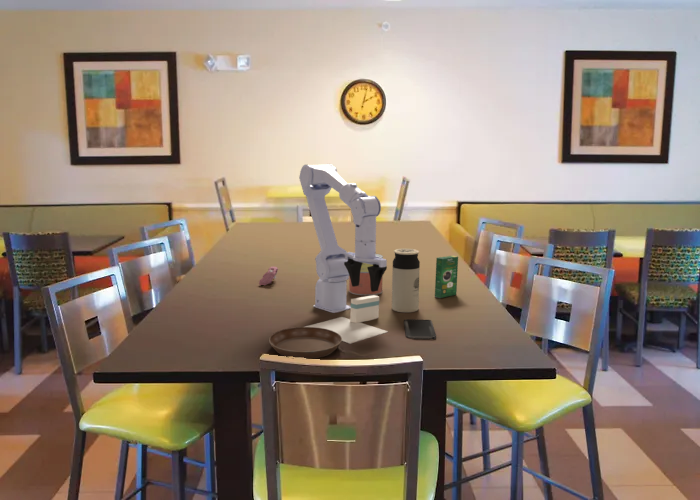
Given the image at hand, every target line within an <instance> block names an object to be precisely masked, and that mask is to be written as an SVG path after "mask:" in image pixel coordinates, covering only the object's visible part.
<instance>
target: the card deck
mask: <svg viewBox="0 0 700 500" xmlns="http://www.w3.org/2000/svg"><path fill="white" fill-rule="evenodd" d="M349 306H350V307H351V309H350V311H349V313H350V314H349V315H350V316H349V319H350V322H353V323H359V322H360V323H363V322H368V321H373V320H377V319H379V315H380V314H379V313H380V311H379V309H380V296H378V295H365V296H361V297H355V298H350V305H349Z"/></svg>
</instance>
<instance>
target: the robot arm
mask: <svg viewBox="0 0 700 500" xmlns="http://www.w3.org/2000/svg"><path fill="white" fill-rule="evenodd" d="M298 177H299V182H300V185H301V189H302V192H303V195H304V196H305V197H306V200H307V201H306V202H307V206H308V209H309V212H310V216H311V218H312V222H313V227H314V230H315V234H316V236H317V237H316V238H317V241H318V244H319V248H320V251H319V252H318V253H317V255H316V257H315V259H314V260H315V269H316V275H317V276H318V277H319V279H317V281H316V284H315V286H314V287H315V293H314V294H315V296H314V297H315V299H314V300H315V301H314V302H315V304H313V306H312V307H313V308H316V309H319V310H322V311H326V312H329V313H332V314H335V313H340V312H343V311H348V310H351V307H350V306H351V305H348V304H347V296H348V295H347V292H348V291H347V286H348V285H347V283H348V281H347V280H349V276H350V279H351V283H352V286H353V287H355V286H359V282H360V271H361V267H362V263H367V264H371V265H373V266H370V267H367V269H368V271H369V275H370V286H371V291H372V292H375V291H378V288H379V285H380V281H381V278H382V279H383V277H382V276H384V274H385V272H386V270H388V269H387V268H388V267H387V266H388V265H387V264H388V261H387V258H384V257H383V258H380V257H378V256H376V254H377V252H376V251H377V245H376V244H377V242H376V241H377V217H378V216H379V215H380V214H381V211H382V210H381V209H382V205H381V202H380V200H379V198H378V197H377V196H376V195H368V194H367V193H366V192H365V191H363V190H362V189H361V188H360V187H358V185H357V183H355V182H347V181H346V180H345V179H344V178H343V177H341V175H340V174H339V173H338V169H337V167H335V166H334V164H331V163H327V164H304V165H302V166H301V169H300V171H299V175H298ZM332 189H333V190H334V191H335V192H338V193H339V194H338V197H339V199H340V200H341V201H342V202H343V203H344V204H346V205H347V206H348V207H349V209H350V212H351V214H352V218H353V219H352V220H353V224H354V225H355V226H354V228H355V229H354V232H355V233H354V234H355V235H354V236H355V237H354V246H355V247H354V252H351V251H348V252H347V250H345V248H342V247H341V246H340V245H339V243H338V240H337V237H336V233H335V230H334V227H333V222H332V219H331V216H330V213H329V209H328V206H327V203H326V199H325V197H326V195H328V194H330V192H331V190H332Z"/></svg>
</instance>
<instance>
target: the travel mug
mask: <svg viewBox="0 0 700 500" xmlns="http://www.w3.org/2000/svg"><path fill="white" fill-rule="evenodd" d="M393 253H394V258H393V260H392V276H391V277H392V282H391V283H392V284H391V289H392V290H391V309H392V310H393V311H394V312H398V313H407V314H409V313H414V312H415V313H416V312H417V311H418V310H419V303H420V301H419V300H420V270H421V269H420V265H421V264H420V263H421V262H420V259H419V258H418V256H419V253H420V250H417V249H414V248H396V249H395V250H393Z"/></svg>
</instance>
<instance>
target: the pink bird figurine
mask: <svg viewBox="0 0 700 500" xmlns="http://www.w3.org/2000/svg"><path fill="white" fill-rule="evenodd" d="M267 270H268V271H267V272H265V273H264V274H263V275H262V278H261V279H259V281H258V284H259V285H260V286H261V285H264V286H266V285H268V284H269V285H270V284H272V282H273V281H275V280H276V279H277V273H278V272H279V271H278V270H279V268H278V267H277V266H270V267H269V268H268V269H267Z"/></svg>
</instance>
